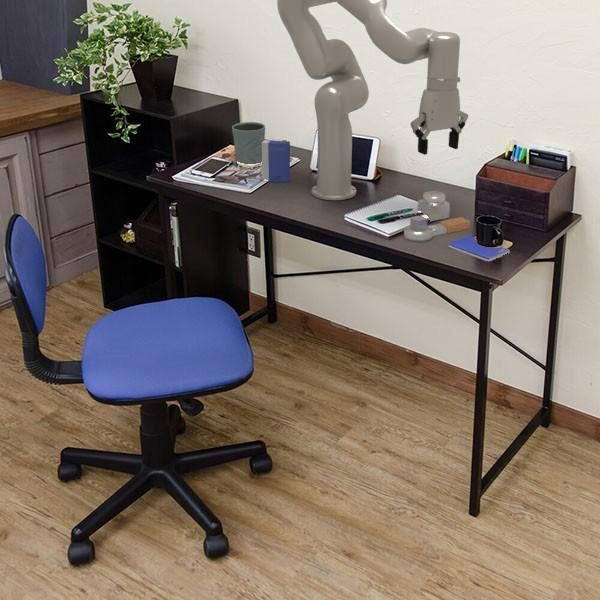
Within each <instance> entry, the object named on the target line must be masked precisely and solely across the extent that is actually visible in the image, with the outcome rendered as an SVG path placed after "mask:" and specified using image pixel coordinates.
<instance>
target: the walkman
mask: <svg viewBox="0 0 600 600" xmlns="http://www.w3.org/2000/svg"><path fill="white" fill-rule="evenodd" d="M261 172H262V175H261V177H262V179H266V180H268V181H267V182H273V183H289V182H290V181H291V141H289V140H288V141H287V139H282V140H274V139H273V140H272V139H271V140H270V139H269V140H268V139H264V141H263V142H262V166H261ZM262 179H261V180H262Z"/></svg>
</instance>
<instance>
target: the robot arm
mask: <svg viewBox="0 0 600 600" xmlns="http://www.w3.org/2000/svg"><path fill="white" fill-rule="evenodd" d="M331 3H336V4H338V5H339V6H340V7H341V8H343V9H344V10H346V11H347V12H348V13H349V14H350V15H351V16H353V17H354V18H355V19H357V20H358V21H359V22H360V23H361V24H363V26H364V27H365V31H366V33H367V34H368V36H369V38H370V39H371V42H372V44H374V46H375V47H377V48H378V49H379V50H380V51H381V52H382V53H384V54H385V55H386V56H387V57H388V58H390V59H391V60H392V61H394V62H396V63H398V64H401V65H409V64H413V63H415V62H417V61H422V60H426V59H427V72H426V73H427V75H426V88H425V89H423V91H422V95H421V99H420V104H419V111H418V112H419V113H418V116H417V117H416V118H415V119H413V120H412V121H411V122H410V126H411V129H412V133H413V134H415V136H416V137H417V139H418V140H417V152H418V154H421V155H424V156H425V155H428V148H429V146H428V145H429V139H427V138H428V136H429V135H430V133H431V132H435V131H442V130H450V131H449V133H448V147H449V148H451V149H454V150H458V148H459V139H460V134H462V130H463V129H464V128H465V126H466V122H467V121H468V119H469V114H468V113H466V112H464V111H461V99H460V97H461V96H460V91H459V88H458V83H460V82H461V78H460V76H459V64H460V47H461V46H460V45H461V38H460V35H458V34H457V33H454V32H450V31H436V30H432V29H431V28H427V27H419V28H415V29H414V28H413V29H410V30H408V31H404V30H402V29H401V28H400V27H399V26H397V25H396V24H395V23H394V22H392V21H391V20H390V19H389V17H388V15H387V14H386V9H387V6H388V0H277V2H276V5H277V6H276V7H277V11H278V14H279V18H280V20H281V23H282V24H283V26H284V27H285V29H286V31H287V33H288V35H289V36H290V39H291V41H292V43H293V46H294V48H295V50H296V53H297V55H298V57H299V60H300V62H301V65H302V66H303V69H304V71H305V73H306V75H307V76H308V77H309V78H310V79H313V80H315V81H316V80H318V81H321V80H324V79H327V78H331V80H332V81H328V82H326V83H325V84H323V85H321V86H320V87H319V88H318V89H317V91H316V93H315V96H314V110H315V114H316V115H315V116H316V123H317V124H316V125H317V164H316V165H317V168H316V170H317V172H316V173H315V174H314V175H313V178H314V179H315V180H316V185H314V186H313V187H312V188H311V194H312V195H313V197H315V198H318V199H321V200H325V201H343V200H347V199H348V200H349V199H352V198H353V197H355V196H356V194H357V188H356V187H355V186H353V185H352V159H353V158H352V157H353V155H352V153H353V130H352V124H351V121H350V117H349V114H350V113H352V112H354V111H357V110H359V109H361V108H363V107H364V106H365V105H366V104H367V102H368V100H369V97H370V96H369V95H370V91H369V86H368V84H367V81H366V78H365V76H364V74H363V71H362V69H361V67H360V65H359V62H358V60H357V58H356V56H355V54H354V51H353V50H352V48H351V46H349V44H348V43H347V42H345V41H343V40H342V39H338V38H333V39H327V37H326V35H325V34H324V32H323V29H322V26H321V24H320V23H319V21H318V19H317V18H316V17H315V16H314V15H313V14H312V13H311V12H310V10H309V9H310V8H313V7H317V6H321V5H327V4H331Z"/></svg>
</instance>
